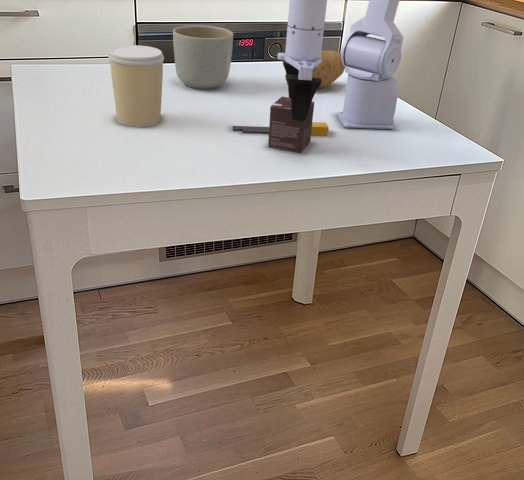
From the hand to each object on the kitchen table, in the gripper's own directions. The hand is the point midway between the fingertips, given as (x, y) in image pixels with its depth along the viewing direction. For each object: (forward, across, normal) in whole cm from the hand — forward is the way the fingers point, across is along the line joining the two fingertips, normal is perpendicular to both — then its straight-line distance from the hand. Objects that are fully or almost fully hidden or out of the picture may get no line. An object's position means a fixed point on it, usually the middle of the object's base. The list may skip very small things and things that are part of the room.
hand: (297, 112), depth 107 cm
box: (+6, 0, -1) cm, 6 cm away
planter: (+6, -34, -18) cm, 39 cm away
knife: (+6, -7, -2) cm, 9 cm away
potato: (+6, -38, +7) cm, 39 cm away
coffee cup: (+6, -9, -28) cm, 30 cm away
